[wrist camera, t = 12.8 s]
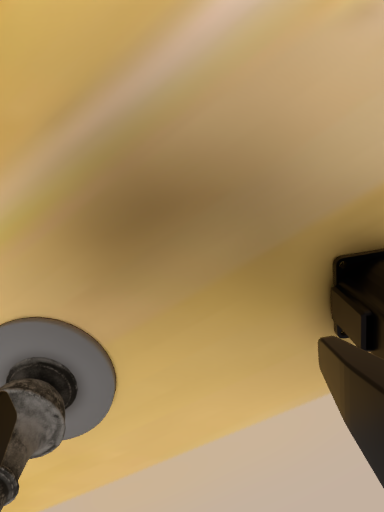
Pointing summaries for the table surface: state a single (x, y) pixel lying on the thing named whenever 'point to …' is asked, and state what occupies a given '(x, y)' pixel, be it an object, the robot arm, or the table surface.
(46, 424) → the dark grey tall piece
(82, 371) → the charcoal mat
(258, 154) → the table surface
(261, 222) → the table surface
